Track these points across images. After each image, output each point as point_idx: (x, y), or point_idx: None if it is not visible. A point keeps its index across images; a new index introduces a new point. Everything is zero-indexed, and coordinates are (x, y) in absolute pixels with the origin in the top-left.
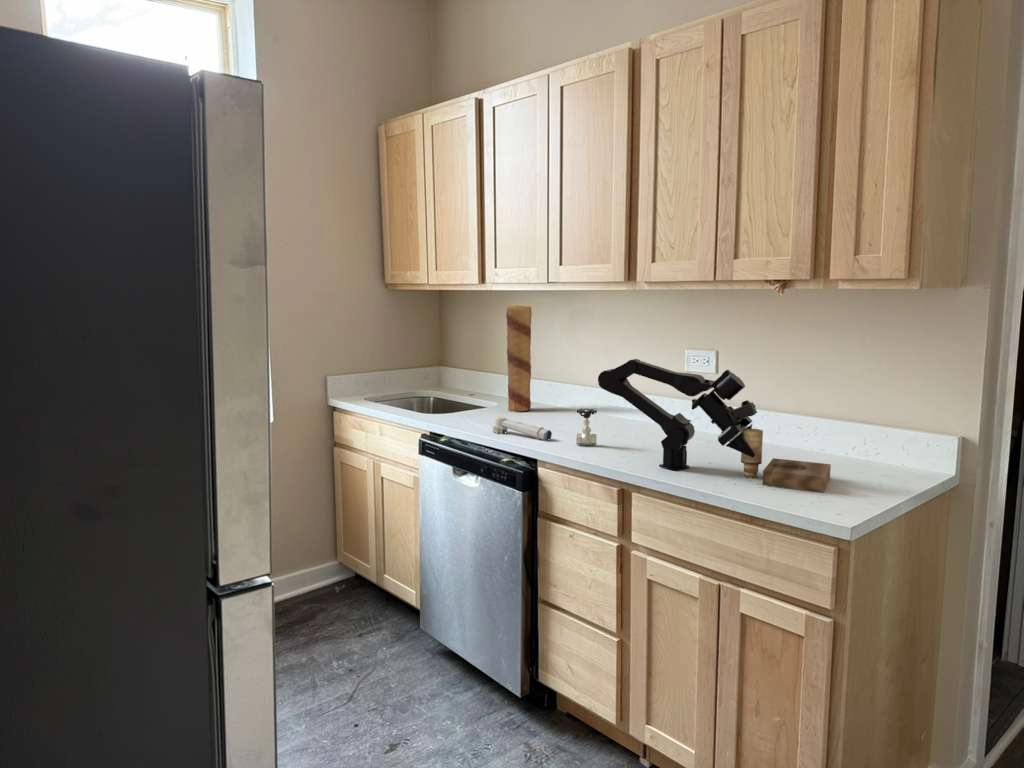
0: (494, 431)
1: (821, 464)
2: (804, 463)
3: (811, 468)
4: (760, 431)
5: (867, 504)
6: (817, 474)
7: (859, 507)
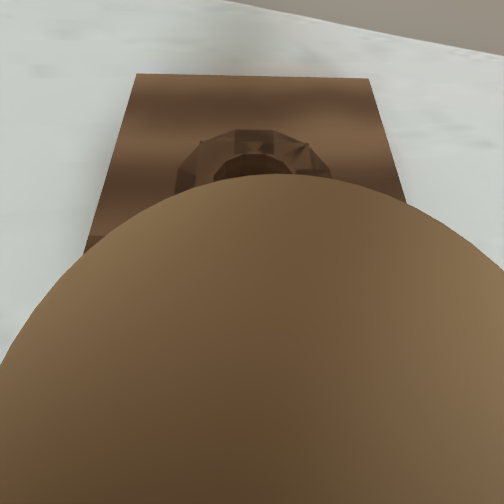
0: None
1: (154, 94)
2: (159, 141)
3: (247, 115)
4: (334, 206)
5: (390, 56)
6: (339, 95)
7: (430, 66)
